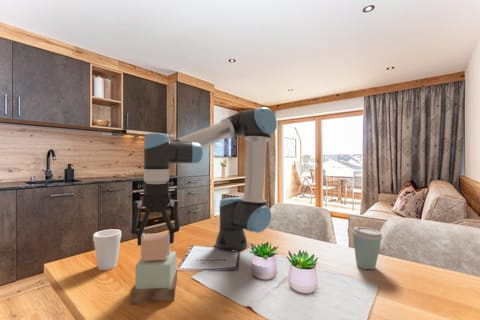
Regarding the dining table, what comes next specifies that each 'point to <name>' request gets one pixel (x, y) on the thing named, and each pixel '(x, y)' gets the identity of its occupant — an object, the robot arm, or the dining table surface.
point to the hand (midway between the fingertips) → (156, 254)
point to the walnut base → (154, 294)
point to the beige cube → (154, 247)
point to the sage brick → (156, 273)
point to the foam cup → (107, 248)
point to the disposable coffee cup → (366, 246)
